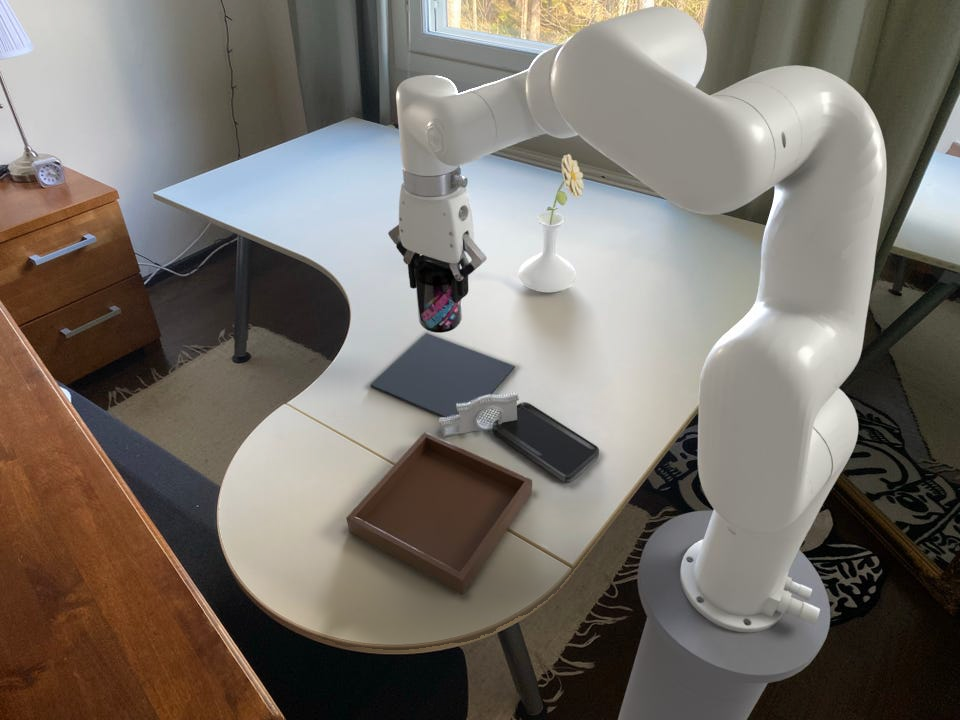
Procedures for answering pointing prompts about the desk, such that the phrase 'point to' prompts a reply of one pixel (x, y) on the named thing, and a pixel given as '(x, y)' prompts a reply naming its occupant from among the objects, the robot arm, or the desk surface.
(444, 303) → the supplement container
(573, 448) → the phone
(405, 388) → the mat
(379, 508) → the tray
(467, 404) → the garden wall model
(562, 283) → the flower in vase
